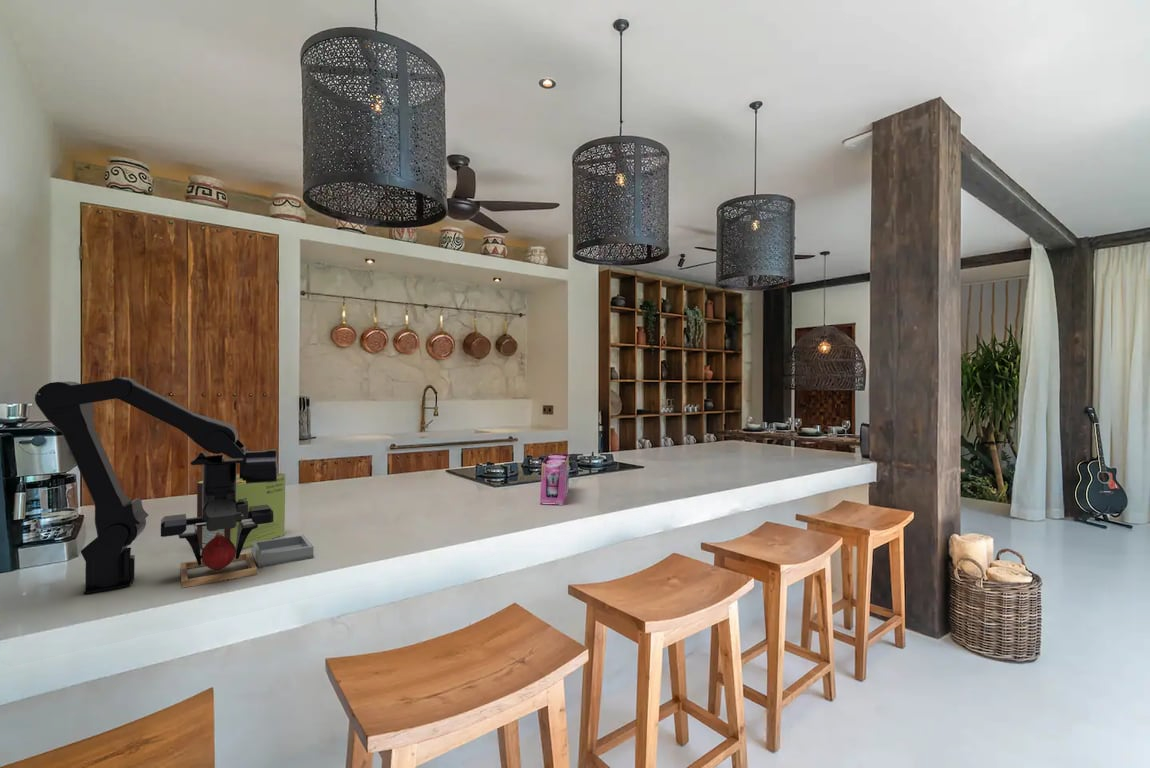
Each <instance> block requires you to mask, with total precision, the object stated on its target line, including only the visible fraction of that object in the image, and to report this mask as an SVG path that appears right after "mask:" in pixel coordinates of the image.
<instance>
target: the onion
mask: <svg viewBox="0 0 1150 768" xmlns="http://www.w3.org/2000/svg"><path fill="white" fill-rule="evenodd" d="M201 550H202V551H201V552H200V553H201V560H202V562H203V563H204V564H205V566H204V567H207V568H208V569H210V570H212V571H213V572H215V573H219V572H222V570H224V569H226V568H227V567H228V566H229V565H230V564H231V563H232V562H234V561H233V559H234V557H235V554H236V548H235V546H234V544H233V543H232V542H231V541H230V540H229V539H228V538H226V537H224V536H222V535H221V534H220V533H219V532H216V535H215V538H213V539H212V540H210V541H209V542H208V543H207V544H206V545H205V547H204V548H203V549H201Z"/></svg>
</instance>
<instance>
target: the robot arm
mask: <svg viewBox="0 0 1150 768" xmlns="http://www.w3.org/2000/svg"><path fill="white" fill-rule="evenodd" d="M110 400H120V401H122V402H124V403H126V404H128V405H131V406H132V407H134V408H136V409H139V410H140V411H142V412H144V413H146V414H148V415H149V416H152V417H154V418H156V419H158V420H160V421H162V422H164V423H165V424H167V425H170V426H172V427H173V428H176V429H178V430H180V431H181V432H182V433H184V434H185V435H186V436H187V437H188V438H190V440H192V441H193V442H194V443H195V444H196V445H198V446H200V447H201V448H202V449H204V450H205V451H207V452H208V453H210V455H209V454H207V453H206V452H205V451H200V452H199V453H198V455H197V456H196V458H194V459H193V460H191V461H190V465H191V466H202V481H203V487H202V517H197V516H196V517H187V514H186V513H182V514H174V515H173V514H172V515H165V516H163V517H162V518H161V520H160V537H163V538H165V537H171V536H172V537H173V536H178V539H180V540H183V539H185V540H186V542H188V544H189V545H190V547H191V549H192V552H193V555H194V557H195V559H196V560H197V562H198V565H201V560H202V559H201V553H202V552H201V549H200V547H199V541H198V534H197V527H200V526H207V530H208V531H216V530H219V529H232V528H235V527H236V524H237V522H239V525H238V533H237V541H236V554H235V557H236V559H238V558H239V556H240V553H242V550H243V549H242V548H243V545H244V543H245V540H246V538H247V536H248V535H249V533H250V532H251V530H252V529H255V528H258V524H265V523H271V522H273V510H272V509H271V507H270V506H268V505H259V506H251V507H249V511H248V501H240V502H236V475H237V466H238V465H237V464H239V474H240V479H243V481H244V480H246V484H249V483H264V482H277V473H278V466H279V464H278V461H277V460H278V459H277V456H278V455H277V449H273V448H272V449H267V450H258V451H257V450H251V451H249V449H248V448H247V446H246V445H244V444H243V442H241V441H240V439H239V433H238V431H237V428H236V427H235V426H234V425H233V424H230V423H227V422H225V421H222V420H219V419H215V418H213V417H210V416H205V415H201V414H199V413H196V412H194V411H191V410H190V409H188V408H186V407H184V406H183V405H180V404H179V403H176V402H174V401H172V400H170V399H169V398H167V397H165V396H163V395H161V394H159V393H158V392H155V391H153V390H151V389H150V388H148V387H145V385H142V384H140V383H138V382H137V381H136V380H135V379H133V378H131V377H127V376H126V377H125V376H124V377H115V378H112V379H108V380H101V381H95V382H93V381H92V382H87V383H80V382H77V381H53V382H48V383H46V384H43V386H41V387H40V388H39V389H38V391H37V392H36V393H35V395H34V402H35V405H36V406H37V407H38V409H39V410H40V411H41V413H42V414H43V416H44V417H45V418H46V420H47V421H48V422H49V423H51V424H52V425H53V427H55V429H57V430H58V431H60V433H61V434H62V436H63V437H64V440H65V443H66V444H67V446H68V449H69V451H70V454H71V455H72V458H73V460H74V462H75V465H76V466H77V469H78V471H79V473H80V475H81V478H82V480H83V483H84V484H85V486H86V488H87V490H88V492H89V495H90V498H91V500H92V501H93V504H94V525H95V531H96V535H97V537H95V538H94V539H93V540H92V541H91V542H89V543H88V544H87V545H86V546H85V547H84V548H82V549H81V550H80V554H81V556H82V558H83V560H84V562H85V568H84V569H85V573H84V574H85V578H84V579H85V581H84V583H85V585H84V589H83V593H82V594H83V595H85V594H93V593H98V592H103V591H104V592H105V591H110V590H117V589H120V588H121V589H122V588H126V587H127V588H128V587H130V586H131V584H132V581H134V580H135V576H136V556H135V554H132V547H129V546H131V545H132V542H134V541H135V540H136V539H137V538H138V537H139V536H140V535H141V534H142V533H143V532H144V530H145V528H146V526H147V518H148V516H149V513H147V512H146V511H145V509H144V508H143V507H144V506H143V502H142V499H141V497H137V498H134V499H133V500H132V499H130V497H128V496H127V495H126V494H125V492H124V491H123V489H122V486H121V484H120V482H119V480H118V477H117V475H116V473H115V471H114V468H113V467H112V463H111V461H110V460H109V456H108V455H107V452H106V451H105V447H104V446H103V443H102V442H101V439H100V437H99V435H98V432H97V429H95V425H94V404H93V403H97V402H99V403H100V402H103V401H104V402H106V401H110ZM225 456H226V457H228V458H225ZM196 560H195V561H196ZM116 588H117V589H116Z"/></svg>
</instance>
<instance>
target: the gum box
mask: <svg viewBox="0 0 1150 768" xmlns="http://www.w3.org/2000/svg"><path fill="white" fill-rule="evenodd" d="M569 467H570V454H569V453H547V455H546V457H545V458H544V459H543V460H542V462H541V474H540V475H541V478H540V479H541V480H540V496H539V497H540V502H539V504H540V503H555V504H564V505H565V502H566V500H565V498H566V499H567V497H566V496H568V494H569V491H568V489H569V486H570V485H569V478H570V477H569V475H570V471H569V470H570V469H569ZM567 493H568V494H567ZM564 501H565V502H564Z"/></svg>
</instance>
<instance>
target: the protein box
mask: <svg viewBox="0 0 1150 768" xmlns="http://www.w3.org/2000/svg"><path fill="white" fill-rule="evenodd" d="M202 487H203V480H201V481H198V482H197V490H196V491H197V493H196V517H202ZM240 501H248V511H249V507H251V506H259V505H268V506H270V507H271V509H272V510H273V522H271V523H265V524H258V528H255V529H252V530H251V532H250V533H249V535H248V536H247V538H246V540H245V543H244V545H243V548H242V550H244V549H246V548H250V547H252V542H258V541H264V540H270V539H272V538H274V539H276V538H279V537H282V536H284V535H285V529H286V526H285V522H286V473H278V472H277V482H264V483H249V484H246V480H244V481H243V479H240V473H236V502H240ZM238 525H239V522H237V524H236V527H235V528H232V529H219V530H216V531H208V530H207V526H200V527H196V529H197V534H198V541H199V547H200V548H201V549H200V550H203V548H204V547H205V545H206V544H207V543H208V542H209V541H210V540H212V539H213V538H215V535H216V532H219V533H220V534H221V535H222V536H224V537H226V538H228V539H229V540H230V541H231V542H232V543H233V544H234V546H235V548H236V541H237V533H238ZM281 535H282V536H281ZM278 536H279V537H278ZM275 537H276V538H275Z"/></svg>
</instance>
